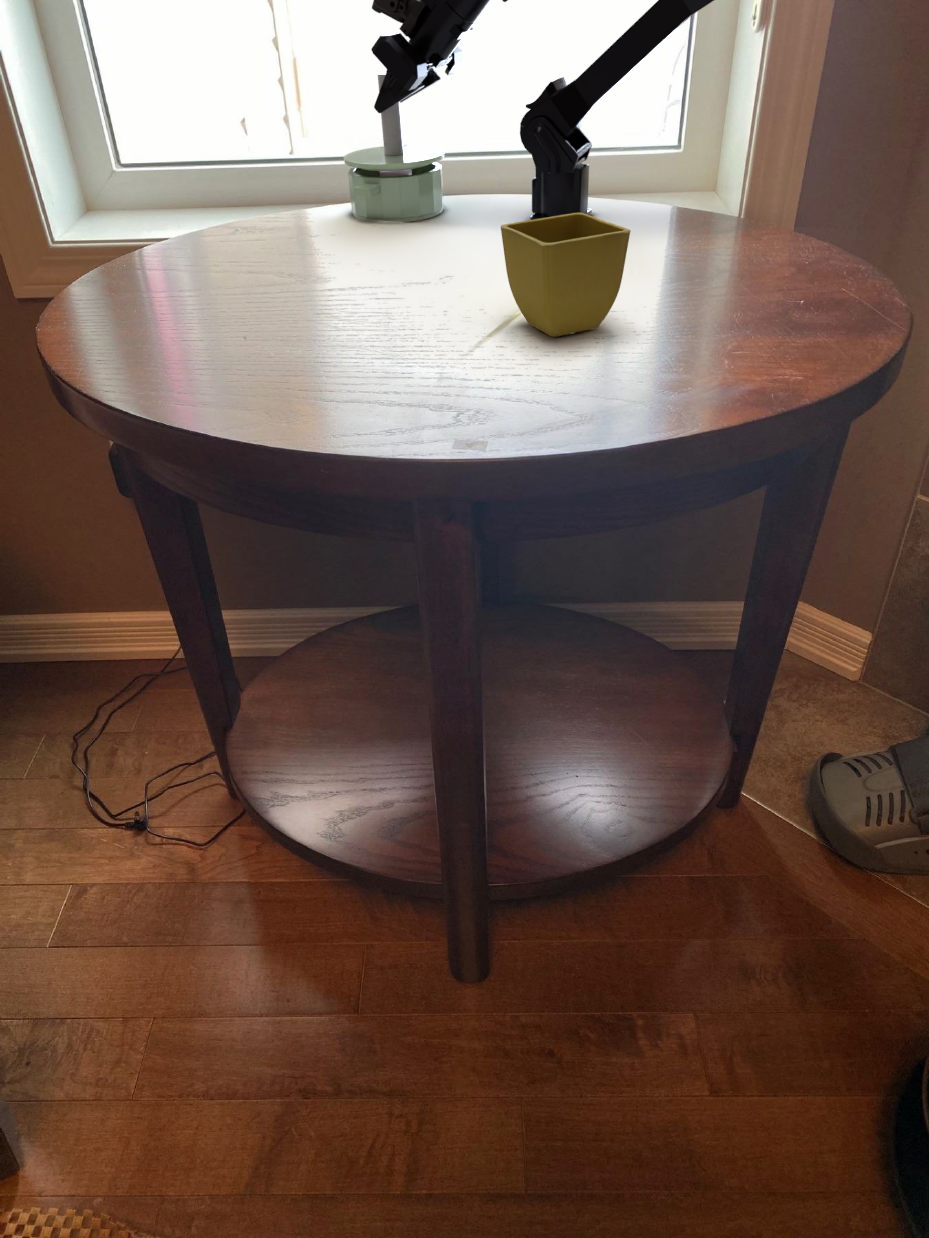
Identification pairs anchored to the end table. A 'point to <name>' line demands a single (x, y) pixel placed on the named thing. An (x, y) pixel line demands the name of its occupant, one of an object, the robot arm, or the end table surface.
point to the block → (395, 173)
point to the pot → (397, 194)
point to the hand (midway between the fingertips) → (381, 109)
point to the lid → (393, 147)
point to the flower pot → (565, 270)
